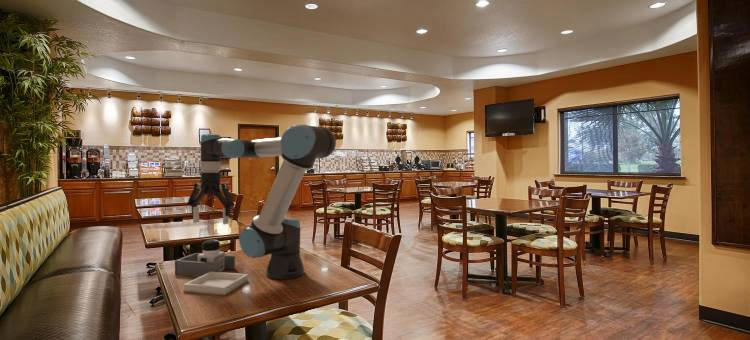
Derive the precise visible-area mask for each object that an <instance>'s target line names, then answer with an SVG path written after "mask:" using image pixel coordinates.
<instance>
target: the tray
mask: <svg viewBox="0 0 750 340" xmlns="http://www.w3.org/2000/svg"><path fill="white" fill-rule="evenodd" d="M248 282H249V274H247V273H237V272H236V273H235V272H223V271H221V272H212V271H211V272H209V273H207V274H205V275H202V276H197V277H196V278H194V279H192V280H189V281H188V282H186V283H185V282H184V284H183V292H186V293H195V294H196V293H197V294H204V295H205V294H206V295H217V296H218V295H219V296H226V295H227V294H229V293H231V292H233V291H234V290H236V289H237V288H239V287H241V286H242V285H244V284H246V283H248Z"/></svg>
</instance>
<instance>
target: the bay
mask: <svg viewBox="0 0 750 340" xmlns="http://www.w3.org/2000/svg"><path fill="white" fill-rule="evenodd" d="M202 253H203V252H202ZM202 253H201V252H194V253H193V254H188V255H187V256H184V257H180V258H179V259H176V260H174V275H182V276H195V277H200V276H202V275H205V274H207V273H209V272H211V271H212V272H219V263H210V262H197V256H198V255H199V254H202ZM225 269H228V270H235V269H236V255H229V254H228V255H227V254H225ZM225 269H224V270H225Z"/></svg>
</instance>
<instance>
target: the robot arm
mask: <svg viewBox="0 0 750 340" xmlns="http://www.w3.org/2000/svg"><path fill="white" fill-rule="evenodd" d="M200 136H201V137H200V144H199V145H200V171H201V173H200V181H201V183H200V182H196V183H194V184H193V190H192V191H191V194H190V196H189V198H188V200H187V203H186V204H187V206H191V215H193V218H192V219H193V221H192V222H193V224H196V223H199V222H200V206H199V204H200V203H201V202H202V200H203V199H204V197H206V195H211V196H212V195H214V196H215V197H217V199H218V200H219V203H221V205H222V206H223V208H222V225H227V224H229V216H231V208H232V207H235V205H236V204H235V201H234V200H233V197H232V195H231V193H230V191H229V186H228V183H222V184H221V181H222V180H221V179H222V178H221V172H220V171H221V167H222V166H221V158H222V159H225V158H226V159H239V158H241V159H242V158H243V159H246V158H247V159H249V158H250V159H259V158H267V157H269V158H270V157H281V159H282V163H281V165H280V168H279V170H278V172H277V174H276V176H275V179H274V182H273V184H272V186H271V188H270V191H269V193H268V195H267V197H266V199H265V202H264V205H263V207H262V209H261V211H260V213H259V214H258V215H255V216H254V217H253V219H252V221H251V223H250V225H249V226H247V227H245V228H243V229H241V231H240V233H239V236H238V237H239V238H238V243H239V245H240V248H241V251H242V252H243V253H244V255H246V256H247V257H248V258H251V259H257V258H262V257H265V256H268V255H270V258H269V261H268V264H267V267H266V277H268V278H269V279H273V280H289V279H297V278H300V277H302V276H304V274H305V266H304V263H303V260H302V256H301V230H302V229H301V221H300V220H299V219H297V218H291V217H285V216H286V215H287V212H288V210H289V209H290V206H291V204H292V202H293V199H294V197H295V195H296V193H297V192H298V191H297V190H298V188H299V186H300V185H301V181H302V180H303V178H304V175H305V173H306V172H307V171H308V170H310V169H312V168H313V166H314V164H315V161H316V159H326V158H328V157H329V156H331V155H332V154H333V153H334V151H335V149H336V146H337V140H336V137H335V135H334V133H333V132H332V131H331V130H330V129H328V128H326V127H324V126H323V127H322V126H315V125H307V124H295V125H292V126H289V127H288V128H287V129H285V131H284V132H283V134H282V135H281V137H272V138H262V139H237V138H222V139H221V135H220V134H215V133H208V134H207V133H204V134H202V135H200ZM220 189H221V190H220Z"/></svg>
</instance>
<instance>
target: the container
mask: <svg viewBox="0 0 750 340" xmlns="http://www.w3.org/2000/svg"><path fill="white" fill-rule="evenodd" d="M220 243H221V242H220V241H219V240H217V239H207V240H205V241H203V242H202V254H199V255H198V256H197V262H210V263H219V272H223V271H225V255H226V253H225V251H220V249H221V248H220V247H221V246H220V245H221V244H220Z"/></svg>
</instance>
